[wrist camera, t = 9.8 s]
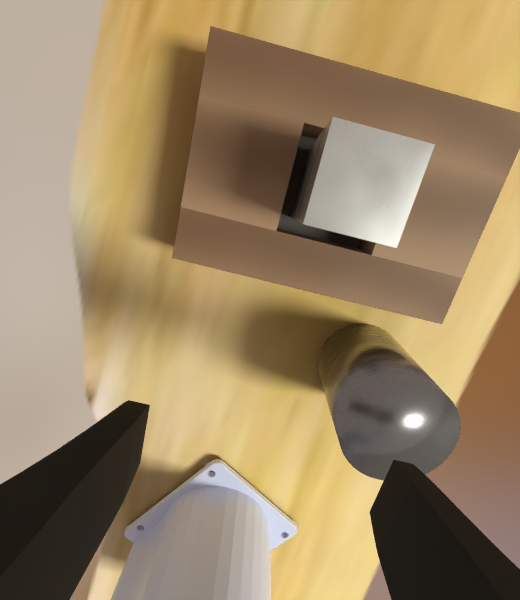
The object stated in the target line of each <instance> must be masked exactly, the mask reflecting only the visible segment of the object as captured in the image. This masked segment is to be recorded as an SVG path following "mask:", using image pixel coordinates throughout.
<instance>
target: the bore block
mask: <svg viewBox="0 0 520 600" xmlns="http://www.w3.org/2000/svg"><path fill="white" fill-rule="evenodd" d="M332 117H336V118H340V119H344V120H347V121H351V122H355V123H358V124H362V125H366V126H369V127H373V128H377V129H380V130H384V131H388V132H391V133H395V134H399V135H402V136H406V137H410V138H413V139H417V140H421V141H424V142H428V143H432V144H435V146H434V149H433V151H432V154H431V157H430V159H429V162H428V165H427V168H426V170H425V173H424V176H423V178H422V181H421V184H420V187H419V189H418V192H417V195H416V197H415V200H414V203H413V205H412V208H411V211H410V214H409V216H408V219H407V222H406V224H405V227H404V230H403V232H402V235H401V238H400V241H399V243H398V246H397V248H394V247H390V246H386V245H383V244H379V243H375V242H371V241H367V240H363V239H359V238H355V237H351V236H347V235H343V234H339V233H336V232H332V231H328V230H324V229H320V228H316V227H312V226H308V225H304V224H302V223H300V222H298V221H297V220H295V219H293V218H291V214H292V210H293V206H294V203H295V199H296V195H297V191H298V188H299V184H300V180H301V176H302V173H303V169H304V165H305V161H306V157H307V154H308V150H309V148H310V147H311V146H312V144H313V143H314V142H315V140H316V139H317V138H318V136H319V135H320V133H321V132H322V131H323V129H324V128H325V127H326V125H327V124H328V123H329V121H330V120H331V118H332ZM519 149H520V113H519V112H515V111H512V110H508V109H504V108H501V107H497V106H494V105H490V104H487V103H483V102H479V101H476V100H472V99H469V98H465V97H462V96H458V95H454V94H451V93H447V92H444V91H440V90H437V89H433V88H429V87H426V86H422V85H419V84H415V83H412V82H408V81H404V80H401V79H397V78H394V77H390V76H387V75H383V74H379V73H376V72H372V71H369V70H365V69H362V68H358V67H354V66H351V65H347V64H344V63H340V62H337V61H333V60H329V59H326V58H322V57H319V56H315V55H312V54H308V53H304V52H301V51H297V50H294V49H290V48H287V47H283V46H279V45H276V44H272V43H269V42H265V41H262V40H258V39H254V38H251V37H247V36H244V35H240V34H237V33H233V32H229V31H226V30H222V29H219V28H215V27H212V26H211V27H210V33H209V39H208V45H207V51H206V57H205V63H204V69H203V75H202V81H201V87H200V93H199V99H198V105H197V111H196V117H195V123H194V129H193V135H192V141H191V147H190V153H189V159H188V166H187V172H186V178H185V184H184V190H183V196H182V202H181V208H180V214H179V220H178V226H177V232H176V238H175V244H174V250H173V256H172V258H174V259H179V260H183V261H187V262H191V263H195V264H199V265H203V266H207V267H211V268H215V269H219V270H223V271H227V272H232V273H236V274H240V275H244V276H248V277H252V278H256V279H260V280H264V281H268V282H272V283H276V284H280V285H285V286H289V287H293V288H297V289H301V290H305V291H309V292H313V293H317V294H321V295H325V296H329V297H333V298H337V299H342V300H346V301H350V302H354V303H358V304H362V305H366V306H370V307H374V308H378V309H382V310H386V311H390V312H395V313H399V314H403V315H407V316H411V317H415V318H419V319H423V320H427V321H431V322H435V323H439V324H442V323H443V321H444V318H445V316H446V314H447V312H448V309H449V307H450V305H451V303H452V300H453V298H454V296H455V294H456V291H457V289H458V287H459V284H460V282H461V280H462V278H463V275H464V273H465V271H466V269H467V266H468V264H469V262H470V260H471V257H472V255H473V253H474V251H475V248H476V246H477V244H478V241H479V239H480V237H481V235H482V232H483V230H484V228H485V226H486V223H487V221H488V219H489V217H490V214H491V212H492V210H493V208H494V205H495V203H496V201H497V198H498V196H499V194H500V192H501V189H502V187H503V185H504V183H505V180H506V178H507V176H508V174H509V171H510V169H511V167H512V164H513V162H514V160H515V158H516V155H517V153H518V151H519Z"/></svg>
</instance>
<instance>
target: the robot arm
mask: <svg viewBox="0 0 520 600" xmlns="http://www.w3.org/2000/svg"><path fill="white" fill-rule="evenodd" d="M149 406H150V405H147V404H143V403H138V402H134V401H129V400H128V401H126V402H125V403H123V404H122V405H120V406H119V407H118V408H116V409H115V410H113V411H112V412H111V413H109V414H108V415H107V416H105V417H104V418H102V419H101V420H100V421H98V422H97V423H96V424H94V425H93V426H91V427H90V428H88V429H87V430H86V431H84V432H83V433H81V434H80V435H78V436H77V437H75V438H74V439H72V440H71V441H69V442H68V443H66V444H65V445H63V446H62V447H61V448H59V449H57V450H56V451H54V452H53V453H51V454H50V455H48V456H46V457H45V458H43V459H42V460H40V461H39V462H37V463H35V464H34V465H32V466H30V467H29V468H27V469H25V470H24V471H23V472H21V473H19V474H17V475H16V476H14V477H12V478H10V479H9V480H7V481H5V482H4V483H2V484H0V600H70V598H71V596H72V594H73V592H74V590H75V589H76V587H77V585H78V583H79V581H80V580H81V578H82V576H83V574H84V572H85V571H86V569H87V567H88V565H89V563H90V561H91V560H92V558H93V556H94V554H95V552H96V551H97V549H98V547H99V545H100V543H101V541H102V540H103V538H104V536H105V534H106V532H107V531H108V529H109V527H110V525H111V523H112V521H113V520H114V518H115V516H116V514H117V512H118V510H119V509H120V507H121V505H122V503H123V501H124V499H125V497H126V494H127V492H128V490H129V488H130V485H131V483H132V481H133V478H134V476H135V473H136V471H137V469H138V466H139V464H140V460H141V454H142V448H143V442H144V436H145V430H146V424H147V418H148V412H149ZM210 470H211V471H214V472H210ZM370 516H371V522H372V527H373V533H374V538H375V543H376V548H377V552H378V556H379V560H380V563H381V566H382V570H383V573H384V576H385V580H386V583H387V586H388V589H389V593H390V596H391V599H392V600H520V569H519V568H518V567H517V566H515V564H514V563H512V562H511V561H510V560H509V559H508V558H507V557H506V556H505V555H504V554H503V553H502V552H501V551H500V550H499V549H498V548H497V547H496V546H495V545H494V544H493V543H492V542H491V541H490V540H489V539H488V538H487V537H486V536H485V535H484V534H483V533H482V532H481V531H480V530H479V529H478V528H477V527H476V526H475V525H474V524H473V523H472V522H471V521H470V520H469V519H468V518H467V517H466V516H465V515H464V514H463V513H462V512H461V511H460V510H459V509H458V508H457V507H456V506H455V505H454V503H452V502H451V500H450V499H449V498H448V497H447V496H446V495H445V494H444V493H443V492H442V491H441V490H440V489H439V488H438V487H437V486H436V485H435V484H434V483H433V482H432V481H431V480H430V479H429V478H428V477H427V476H426V475H425V474H424V473H423V472H422V471H421V470H419V469H418V468H417V467H416V466H415V465H414V464H411V463H406V462H402V461H397V460H393V462H392V464H391V466H390V469H389V471H388V473H387V475H386V477H385V480H384V482H383V484H382V486H381V488H380V491H379V493H378V495H377V497H376V499H375V502H374V504H373V506H372V508H371V510H370ZM296 533H297V525H296V523H295V522H294V521H292V520H291V519H290V518H289V517H288V516H287V515H285V514H284V513H283V512H282V511H281V510H280V509H278V508H277V507H276V506H275V505H274V504H273V503H271V502H270V501H269V500H268V499H267V498H266V497H264V496H263V495H262V494H261V493H260V492H259V491H257V490H256V489H255V488H254V487H253V486H252V485H250V484H249V483H248V482H247V481H246V480H245V479H243V478H242V477H241V476H240V475H239V474H238V473H236V472H235V471H234V470H233V469H232V468H231V467H229V466H228V465H227V464H226V463H225V462H224V461H222V460H220V459H214V460H212V461H211V462H210V463H208V464H207V465H206V466H205V467H203V468H202V469H201V470H199V471H198V472H197V473H196V474H194V475H193V476H192V477H190V478H189V479H188V480H187V481H185V482H184V483H183V484H181V485H180V486H179V487H178V488H176V489H175V490H174V491H172V492H171V493H170V494H169V495H167V496H166V497H165V498H163V499H162V500H161V501H160V502H158V503H157V504H156V505H155V506H153V507H152V508H151V509H149V510H148V511H147V512H146V513H144V514H143V515H142V516H140V517H139V518H138V519H137V520H135V521H134V522H133V523H131V524H130V525H129V526H128V527H127V528H126V530H125V532H124V535H125V537H126V538H127V539H128V540H130V541H131V542H132V543H133V545H132V548H131V550H130V553H129V555H128V558H127V560H126V563H125V565H124V568H123V570H122V573H121V575H120V578H119V580H118V583H117V585H116V588H115V590H114V593H113V595H112V598H111V600H271V567H270V551H271V550H273V549H274V548H276V547H277V546H279V545H280V544H282V543H284V542H285V541H287V540H288V539H290V538H291V537H293V536H294V535H295V534H296Z"/></svg>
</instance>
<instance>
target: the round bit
mask: <svg viewBox="0 0 520 600" xmlns="http://www.w3.org/2000/svg"><path fill="white" fill-rule="evenodd" d="M318 372H319V375H320V379H321V382H322V385H323V389H324V392H325V396H326V399H327V402H328V406H329V409H330V412H331V416H332V419H333V423H334V426H335V429H336V433H337V436H338V439H339V443H340V446H341V449H342V452H343V454H344V456H345V458H346V459H347V460H348V462H349V463H350V464H351V465H352V466H353V467H354V468H355V469H357V470H358V471H359V472H361V473H363V474H365V475H367V476H369V477H372V478H375V479H379V480H385V477H386V475H387V473H388V471H389V469H390V466H391V464H392V462H393V460H397V461H402V462H406V463H411V464H414V465H415V466H416V467H417V468H418V469H419V470H421V471H422V472H423V473H424V474H426V473H428V472H430V471H432V470H434V469H435V468H437V467H438V466H439V465H440V464H442V463H443V462H444V461H445V460H446V459H447V458H448V457H449V455H450V454H451V453H452V451H453V450H454V448H455V446H456V444H457V442H458V439H459V435H460V428H461V426H460V417H459V413H458V411H457V408H456V407H455V405H454V403H453V402H452V401H451V400H450V398H449V397H448V396H447V395H446V394H445V393H444V392H443V391H442V390H441V389H440V388H439V386H438V385H437V384H436V383H435V382H434V381H433V380H432V379H431V378H430V377H429V376H428V375H427V374H426V372H425V371H424V370H423V369H422V368H421V367H420V366H419V365H418V364H417V363H416V362H415V361H414V360H413V359H412V357H411V356H410V355H409V354H408V353H407V352H406V351H405V350H404V349H403V348H402V347H401V346H400V345H399V343H398V342H397V341H396V340H395V339H394V338H393V337H392V336H391V335H390V334H389V333H388V332H386V331H385V330H383V329H381V328H379V327H376V326H372V325H365V324H360V325H352V326H349V327H345V328H343V329H341V330H339V331H337V332H336V333H334V334H333V335H332V336H331V337H330V338H329V339H328V340H327V341H326V342H325V343H324V345H323V347H322V348H321V351H320V353H319V357H318Z"/></svg>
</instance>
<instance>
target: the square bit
mask: <svg viewBox="0 0 520 600" xmlns="http://www.w3.org/2000/svg"><path fill="white" fill-rule="evenodd" d="M434 146H435V144H432V143H428V142H424V141H421V140H417V139H413V138H410V137H406V136H402V135H399V134H395V133H391V132H388V131H384V130H380V129H377V128H373V127H369V126H366V125H362V124H358V123H355V122H351V121H347V120H344V119H340V118H336V117H332V118H331V120H330V121H329V123H328V124H327V125H326V127H325V128H324V129H323V131H322V132H321V133H320V135H319V136H318V138H317V139H316V140H315V142H314V143H313V144H312V146H311V147H310V148H309V150H308V154H307V157H306V161H305V165H304V169H303V173H302V176H301V180H300V184H299V188H298V191H297V195H296V199H295V203H294V206H293V210H292V214H291V218H293V219H295V220H297V221H298V222H300V223H302V224H304V225H308V226H312V227H316V228H320V229H324V230H328V231H332V232H336V233H339V234H343V235H347V236H351V237H355V238H359V239H363V240H367V241H371V242H375V243H379V244H383V245H386V246H390V247H394V248H397V246H398V243H399V241H400V238H401V235H402V232H403V230H404V227H405V224H406V222H407V219H408V216H409V214H410V211H411V208H412V205H413V203H414V200H415V197H416V195H417V192H418V189H419V187H420V184H421V181H422V178H423V176H424V173H425V170H426V168H427V165H428V162H429V159H430V157H431V154H432V151H433V149H434Z"/></svg>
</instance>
